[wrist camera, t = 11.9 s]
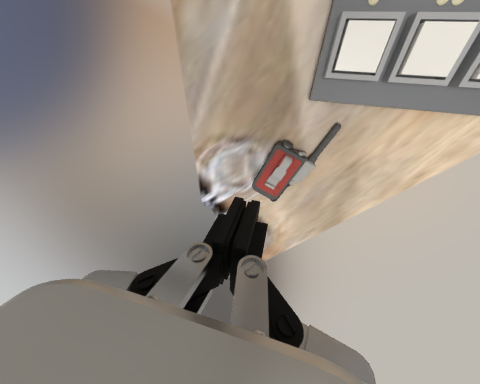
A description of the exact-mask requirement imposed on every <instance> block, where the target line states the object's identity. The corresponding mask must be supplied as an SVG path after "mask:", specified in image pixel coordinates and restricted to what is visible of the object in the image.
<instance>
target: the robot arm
mask: <svg viewBox="0 0 480 384" xmlns="http://www.w3.org/2000/svg"><path fill="white" fill-rule="evenodd" d="M259 207H260V202H259V201H254V200H252V201H251V202H248V204H247V207H246V201H244V199H243V198H239V197H235V198H234V200H233V202H232V204H231V206H230V208H229V210H228V212H227V214H226V215H225V214H219V215H218V217H217V218H216V220H215V222H214V224H213V226H212V227H211V229H210V231H209V232H208V234H207V236H206V238H205V239H204V241H203V243H202V242H200V243H194V244H192V245H190V246H189V247H188V248H187V249H186V250H185V251H184V252H183V254H182V255H181V256H180V257H179V258H177V259H175V260H172V261H169V262H167V263H164V264H162V265H160V266H157V267H154V268H152V269H149V270H146V271H144V272H142V273H140V274H137V272H131V271H110V270H108V271H107V270H98V271H94V272H92V273H90V274H88V275H87V276H85V277H84V278H83V279H63V280H55V281H49V282H45V283H41V284H38V285H36V286H33V287H30V288H29V289H27V290H25V291H23V292H21V293H20V294H18V295H16V296H15V297H13V298H12V299H10V300H9V301H7V302H6V303H4V304H3V305H1V306H0V384H376V383H375V378H374V373H373V371H372V369H371V367H370V365H369V363H368V362H367V361H366V360H365V358H364V357H363V356H362V355H360V354H359V353H358V352H357V351H355V350H353V349H351V348H350V347H348V346H346V345H345V344H343V343H341V342H339V341H337V340H336V339H334V338H332V337H330V336H329V335H327V334H325V333H323V332H322V331H320V330H318V329H316V328H314V327H313V326H311V325H310V326H307V325H305V324H303V323H302V322H301V321H300V320H299V318H298V316H297V315H296V314H295V312H294V311H293V310H292V308H291V307H290V306H289V305H288V303H287V302H286V301H285V299H284V298H283V296H282V295H281V294H280V292H279V291H278V290H277V288H276V287H275V286H274V284H273V283H272V282H271V280H270V279H269V278H268V276H267V266H266V264H265V262H264V261H263V260H262V253H263V248H264V242H265V237H266V231H267V226H268V224H266V223H261V222H257V221H258V214H259ZM229 274H230V290H231V292H232V294H233V296H234V299H233V306H232V315H231V322H230V324H227V323H224V322H220V321H218V320H215V319H212V318H209V317H206V316H203V315H200V314H201V312H202V310H203V308H204V306H205V305H206V303H207V301H208V299H209V297H210V296H211V294H212V292H213V289H214V288H216V287H218V286H219V284H223V281H224V279H226V280H227V279H228V277H229Z"/></svg>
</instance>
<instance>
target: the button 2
mask: <svg viewBox="0 0 480 384" xmlns="http://www.w3.org/2000/svg"><path fill="white" fill-rule="evenodd" d="M477 24H478V22H444V21H425V22H423V23H421V24H419V25H418V27H417V29H416V31H415V34H414V36H413V38H412V40H411V43H410V45H409V47H408V49H407V52H406V54H405V56H404V58H403V60H402V63H401V65H400V67H399V69H398V72H397V74H396V75H406V76H422V77H447V76H448V74H449V72H450V71H451V69H452V67H453V65H454V64H455V62H456V60H457V59H458V57H459V55H460V53H461V52H462V50H463V48H464V46H465V45H466V43H467V41H468V40H469V38H470V36H471V34H472V33H473V31H474V29H475V27H476V26H477Z"/></svg>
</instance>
